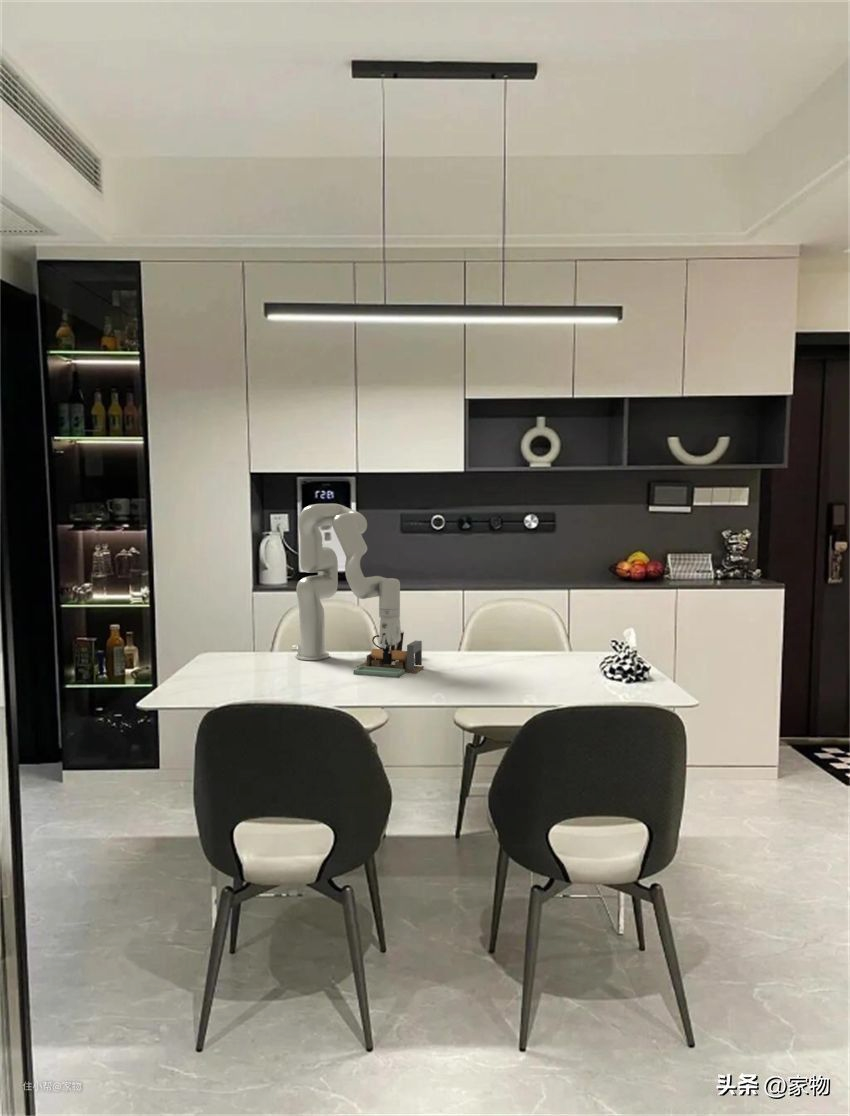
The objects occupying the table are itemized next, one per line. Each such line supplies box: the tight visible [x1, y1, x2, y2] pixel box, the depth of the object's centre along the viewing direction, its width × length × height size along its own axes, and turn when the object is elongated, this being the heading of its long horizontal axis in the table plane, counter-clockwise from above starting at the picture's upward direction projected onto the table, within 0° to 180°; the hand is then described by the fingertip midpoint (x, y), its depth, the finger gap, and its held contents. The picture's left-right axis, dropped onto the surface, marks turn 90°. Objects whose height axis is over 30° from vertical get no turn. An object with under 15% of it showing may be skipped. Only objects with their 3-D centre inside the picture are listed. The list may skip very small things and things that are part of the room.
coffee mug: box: [371, 629, 405, 651], centre depth 304 cm, size 12×9×10 cm
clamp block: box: [356, 653, 425, 675], centre depth 283 cm, size 23×7×5 cm, turn 71°
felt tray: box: [352, 666, 406, 679], centre depth 276 cm, size 17×7×2 cm, turn 71°
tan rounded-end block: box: [370, 648, 407, 661], centre depth 283 cm, size 13×4×4 cm, turn 71°
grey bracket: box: [406, 640, 423, 670], centre depth 280 cm, size 2×9×9 cm, turn 161°
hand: (389, 662), depth 283 cm, fingers closed on tan rounded-end block, 3 cm apart
